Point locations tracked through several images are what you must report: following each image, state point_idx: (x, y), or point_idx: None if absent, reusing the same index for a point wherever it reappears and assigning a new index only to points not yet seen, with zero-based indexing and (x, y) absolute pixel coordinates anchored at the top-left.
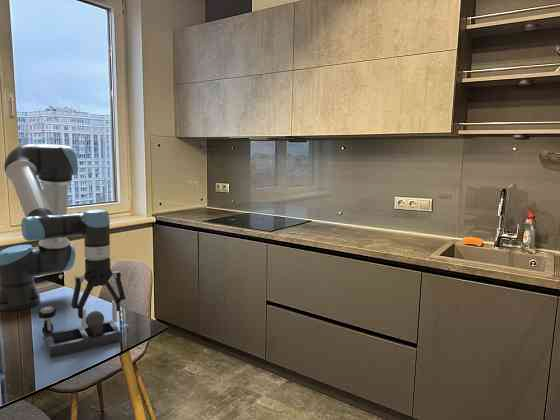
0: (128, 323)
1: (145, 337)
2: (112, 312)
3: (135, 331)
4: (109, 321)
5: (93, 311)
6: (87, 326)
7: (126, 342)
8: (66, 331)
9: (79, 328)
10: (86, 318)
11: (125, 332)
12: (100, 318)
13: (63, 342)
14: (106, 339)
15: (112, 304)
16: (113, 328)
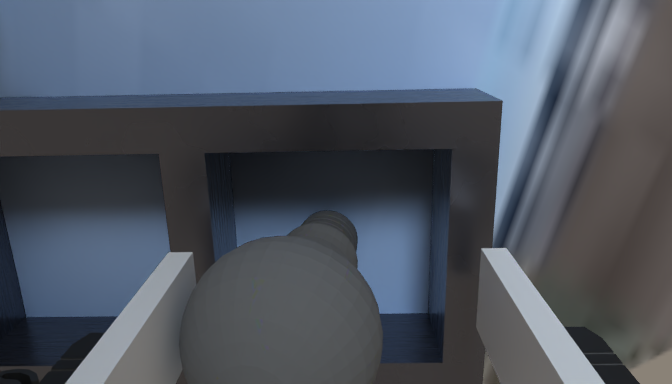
0: (651, 17)
1: (635, 363)
2: (505, 294)
3: (623, 226)
4: (466, 122)
5: (255, 380)
6: (242, 138)
7: (490, 370)
8: (49, 154)
9: (166, 148)
10: (181, 360)
11: (548, 204)
12: None
13: (34, 369)
14: None
15: (546, 375)
16: (448, 307)
